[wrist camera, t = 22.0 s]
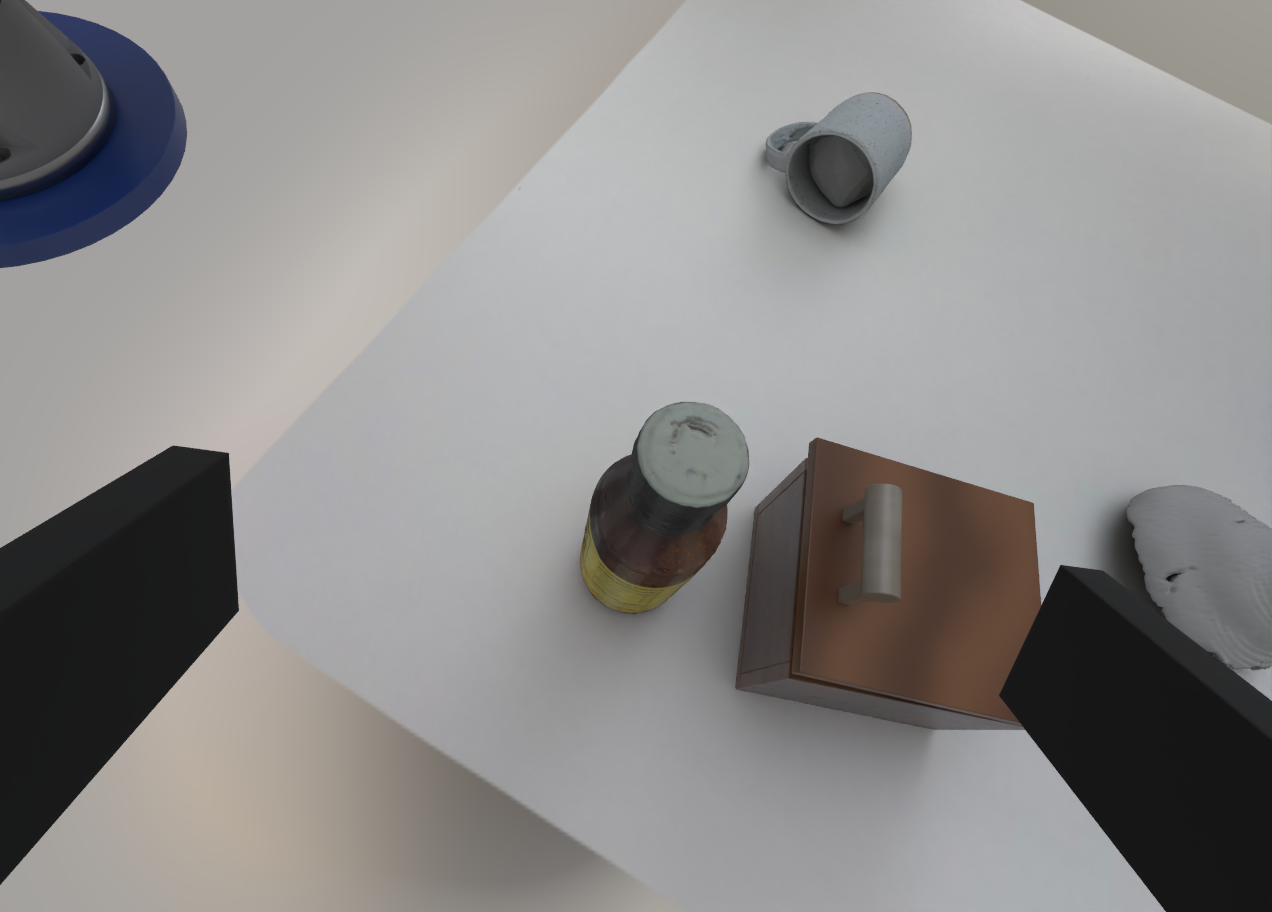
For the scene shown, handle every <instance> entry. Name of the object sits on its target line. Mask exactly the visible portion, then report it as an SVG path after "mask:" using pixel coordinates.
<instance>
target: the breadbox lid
mask: <svg viewBox="0 0 1272 912" xmlns="http://www.w3.org/2000/svg"><path fill="white" fill-rule="evenodd" d="M1040 608H1041V597H1040V584H1039V570H1038V557H1037V543H1036V530H1035V516H1034V504H1033V503H1032V502H1028V501H1025V500H1022V499H1018V498H1015V497H1012V496H1008V495H1005V494H1002V493H999V492H995V491H992V490H989V489H985V488H982V487H979V486H975V485H972V484H969V483H966V482H962V481H959V480H956V479H952V478H949V477H946V476H942V475H939V474H936V473H932V472H929V471H926V470H923V469H919V468H916V467H913V466H909V465H906V464H903V463H899V462H896V461H893V460H890V459H886V458H883V457H880V456H876V455H873V454H870V453H866V452H863V451H860V450H857V449H853V448H850V447H847V446H843V445H840V444H837V443H833V442H830V441H827V440H823V439H820V438H815V439H814V440H813V441H811V442H810V443H809V453H808V466H807V478H806V491H805V504H804V517H803V530H802V543H801V556H800V569H799V582H798V595H797V607H796V620H795V633H794V646H793V659H792V673H793V674H796V675H801V676H805V677H809V678H814V679H818V680H823V681H827V682H831V683H836V684H840V685H844V686H849V687H853V688H858V689H862V690H866V691H871V692H875V693H880V694H884V695H888V696H893V697H897V698H902V699H906V700H910V701H915V702H919V703H923V704H928V705H932V706H937V707H941V708H945V709H950V710H954V711H959V712H963V713H967V714H972V715H976V716H980V717H985V718H989V719H994V720H998V721H1002V722H1007V723H1011V724H1016V725H1020V726H1022V725H1021V723H1020V722H1019V721H1018V720H1017V718H1016V717H1015V716H1014V714H1013V713H1012V712H1011V711H1010V709H1009V708H1008V707H1007V705H1006V704H1005V703H1004V701H1003V700H1002V699H1001V698H1000V696H999V694H1000V692H1001V690H1002V688H1003V686H1004V684H1005V681H1006V679H1007V677H1008V675H1009V673H1010V671H1011V669H1012V667H1013V665H1014V662H1015V660H1016V658H1017V656H1018V654H1019V652H1020V650H1021V648H1022V646H1023V643H1024V641H1025V639H1026V637H1027V635H1028V633H1029V631H1030V629H1031V627H1032V624H1033V622H1034V620H1035V618H1036V616H1037V614H1038V612H1039V610H1040Z"/></svg>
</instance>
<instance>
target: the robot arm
mask: <svg viewBox="0 0 1272 912" xmlns="http://www.w3.org/2000/svg"><path fill="white" fill-rule="evenodd" d="M115 118H116V106H115V100H114V97H113V94H112V92H111V90H110V88H109V86H108V84H107V83H106V81H105V80H104V78H103V77H102V75H101V74H100V72H99V71H98V69H97V68H96V66H95V65H94V63H93V62H92V61H91V60H90V58H89V57H88V56H87V55H86V54H85V53H84V52H83V51H82V50H81V49H80V48H79V47H78V46H77V45H76V44H75V43H73V42H72V41H71V40H70V39H69V38H67V37H66V36H65V35H64V34H63V33H62V32H61V31H60V30H59V29H57V28H56V27H55V26H54V25H53V24H52V23H51V22H49V21H48V20H47V19H46V18H45V17H44V16H43V15H41V14H40V13H39V12H38V11H37V10H36V9H35V8H33V7H32V6H31V5H30V4H29V3H28V2H27V1H25V0H0V201H4V200H9V199H14V198H18V197H22V196H26V195H29V194H32V193H35V192H38V191H41V190H44V189H46V188H48V187H51V186H53V185H55V184H57V183H59V182H61V181H63V180H65V179H67V178H68V177H70V176H72V175H73V174H75V173H76V172H78V171H79V170H80V169H82V168H83V167H84V166H85V165H87V164H88V163H89V162H90V161H91V160H92V159H93V158H94V157H95V156H96V155H97V154H98V153H99V152H100V150H101V149H102V148H103V147H104V145H105V144H106V142H107V140H108V139H109V137H110V135H111V133H112V130H113V127H114V124H115ZM238 611H239V607H238V591H237V575H236V559H235V544H234V528H233V512H232V497H231V481H230V465H229V453H224V452H216V451H209V450H202V449H194V448H187V447H179V446H172V447H170V448H168V449H166V450H165V451H163V452H161V453H160V454H158V455H156V456H155V457H153V458H151V459H150V460H148V461H146V462H144V463H143V464H141V465H139V466H138V467H136V468H135V469H133V470H131V471H129V472H128V473H126V474H124V475H123V476H121V477H119V478H118V479H116V480H114V481H113V482H111V483H109V484H107V485H106V486H104V487H102V488H101V489H99V490H97V491H96V492H94V493H92V494H91V495H89V496H87V497H86V498H84V499H82V500H80V501H79V502H77V503H75V504H74V505H72V506H70V507H69V508H67V509H65V510H64V511H62V512H61V513H59V514H57V515H55V516H54V517H52V518H50V519H49V520H47V521H45V522H44V523H42V524H40V525H39V526H37V527H35V528H33V529H32V530H30V531H29V532H27V533H25V534H23V535H22V536H20V537H18V538H17V539H15V540H13V541H11V542H10V543H8V544H7V545H5V546H3V547H1V548H0V885H1V883H2V882H3V881H4V880H5V879H6V878H7V876H8V875H9V874H10V873H11V872H12V871H13V870H14V868H15V867H16V866H17V865H18V864H19V863H20V862H21V860H22V859H23V858H24V857H25V856H26V855H27V854H28V852H29V851H30V850H31V849H32V848H33V846H34V845H35V844H36V843H37V842H38V841H39V840H40V839H41V837H42V836H43V835H44V834H45V833H46V832H47V831H48V829H49V828H50V827H51V826H52V825H53V824H54V822H55V821H56V820H57V819H58V818H59V817H60V816H61V814H62V813H63V812H64V811H65V810H66V809H67V808H68V806H69V805H70V804H71V803H72V802H73V800H74V799H75V798H76V797H77V796H78V795H79V794H80V792H81V791H82V790H83V789H84V788H85V787H86V786H87V784H88V783H89V782H90V781H91V780H92V779H93V778H94V776H95V775H96V774H97V773H98V772H99V771H100V770H101V768H102V767H103V766H104V765H105V764H106V763H107V762H108V760H109V759H110V758H111V757H112V756H113V755H114V754H115V752H116V751H117V750H118V749H119V748H120V747H121V745H122V744H123V743H124V742H125V741H126V740H127V738H128V737H129V736H130V735H131V734H132V733H133V732H134V731H135V729H136V728H137V727H138V726H139V725H140V724H141V723H142V721H143V720H144V719H145V718H146V717H147V716H148V714H149V713H150V712H151V711H152V710H153V709H154V708H155V706H156V705H157V704H158V703H159V702H160V701H161V699H162V698H163V697H164V696H165V695H166V694H167V693H168V691H169V690H170V689H171V688H172V687H173V686H174V685H175V683H176V682H177V681H178V680H179V679H180V678H181V676H182V675H183V674H184V673H185V672H186V671H187V670H188V668H189V667H190V666H191V665H192V664H193V663H194V662H195V660H196V659H197V658H198V657H199V656H200V654H202V652H203V651H204V650H205V649H206V648H207V647H208V645H209V644H210V643H211V642H212V641H213V640H214V639H215V637H216V636H217V635H218V634H219V633H220V632H221V631H222V629H223V628H224V627H225V626H226V625H227V624H228V622H229V621H230V620H231V619H232V618H233V617H234V616H235V614H236V613H237V612H238ZM999 696H1000V698H1001V699H1002V700H1003V701H1004V703H1005V704H1006V705H1007V707H1008V708H1009V709H1010V711H1011V712H1012V713H1013V714H1014V716H1015V717H1016V718H1017V720H1018V721H1019V722H1020V723H1021V725H1022V726H1023V727H1024V729H1025V730H1026V731H1027V733H1028V734H1029V735H1030V736H1031V738H1032V739H1033V740H1034V742H1035V743H1036V744H1037V745H1038V747H1039V748H1040V749H1041V751H1042V752H1043V753H1044V755H1045V756H1046V757H1047V758H1048V760H1049V761H1050V762H1051V764H1052V765H1053V766H1054V767H1055V769H1056V770H1057V771H1058V773H1059V774H1060V775H1061V777H1062V778H1063V779H1064V780H1065V782H1066V783H1067V784H1068V786H1069V787H1070V788H1071V789H1072V791H1073V792H1074V793H1075V795H1076V796H1077V797H1078V799H1079V800H1080V801H1081V802H1082V804H1083V805H1084V806H1085V808H1086V809H1087V810H1088V811H1089V813H1090V814H1091V815H1092V817H1093V818H1094V819H1095V821H1096V822H1097V823H1098V824H1099V826H1100V827H1101V828H1102V830H1103V831H1104V832H1105V833H1106V835H1107V836H1108V837H1109V839H1110V840H1111V841H1112V843H1113V844H1114V845H1115V846H1116V848H1117V849H1118V850H1119V852H1120V853H1121V854H1122V855H1123V857H1124V858H1125V859H1126V861H1127V862H1128V863H1129V865H1130V866H1131V867H1132V868H1133V870H1134V871H1135V872H1136V874H1137V875H1138V876H1139V877H1140V879H1141V880H1142V881H1143V883H1144V884H1145V885H1146V887H1147V888H1148V889H1149V890H1150V892H1151V893H1152V894H1153V896H1154V897H1155V898H1156V899H1157V901H1158V902H1159V903H1160V905H1161V906H1162V907H1163V908H1164V910H1165V911H1166V912H1272V701H1271V700H1270V699H1269V698H1267V697H1266V696H1265V695H1263V694H1262V693H1261V692H1259V691H1258V690H1257V689H1256V688H1254V687H1253V686H1252V685H1250V684H1249V683H1248V682H1247V681H1245V680H1244V679H1243V678H1241V677H1240V676H1239V675H1237V674H1236V673H1235V672H1234V671H1232V670H1231V669H1230V668H1228V667H1227V666H1226V665H1224V664H1223V663H1222V662H1221V661H1219V660H1218V659H1217V658H1215V657H1214V656H1213V655H1212V654H1210V653H1209V652H1208V651H1206V650H1205V649H1204V648H1202V647H1201V646H1200V645H1199V644H1197V643H1196V642H1195V641H1193V640H1192V639H1191V638H1189V637H1188V636H1187V635H1186V634H1184V633H1183V632H1182V631H1180V630H1179V629H1178V628H1177V627H1175V626H1174V625H1173V624H1171V623H1170V622H1169V621H1167V620H1166V619H1165V618H1164V617H1162V616H1161V615H1160V614H1158V613H1157V612H1156V611H1154V610H1153V609H1152V608H1151V607H1149V606H1148V605H1147V604H1145V603H1144V602H1143V601H1142V600H1140V599H1139V598H1138V597H1136V596H1135V595H1134V594H1132V593H1131V592H1130V591H1129V590H1127V589H1126V588H1125V587H1123V586H1122V585H1121V584H1119V583H1118V582H1117V581H1116V580H1114V579H1113V578H1112V577H1110V576H1109V575H1108V574H1106V573H1105V572H1104V571H1101V570H1094V569H1086V568H1079V567H1071V566H1064V565H1060V567H1059V570H1058V572H1057V574H1056V576H1055V578H1054V580H1053V582H1052V584H1051V586H1050V589H1049V591H1048V593H1047V595H1046V597H1045V599H1044V601H1043V603H1042V605H1041V608H1040V610H1039V612H1038V614H1037V616H1036V618H1035V620H1034V622H1033V624H1032V627H1031V629H1030V631H1029V633H1028V635H1027V637H1026V639H1025V641H1024V643H1023V646H1022V648H1021V650H1020V652H1019V654H1018V656H1017V658H1016V660H1015V662H1014V665H1013V667H1012V669H1011V671H1010V673H1009V675H1008V677H1007V679H1006V681H1005V684H1004V686H1003V688H1002V690H1001V692H1000V694H999Z"/></svg>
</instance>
